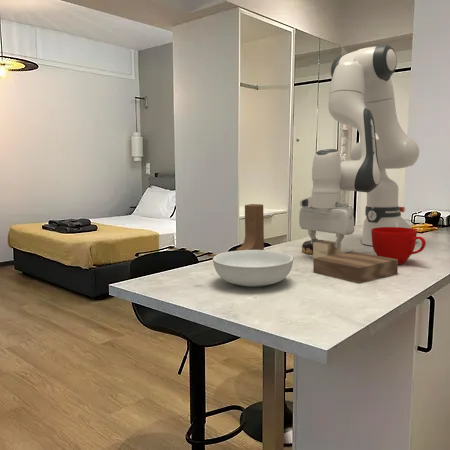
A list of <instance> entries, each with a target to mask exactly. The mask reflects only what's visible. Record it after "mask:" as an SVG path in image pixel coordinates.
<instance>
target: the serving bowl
mask: <svg viewBox="0 0 450 450" xmlns="http://www.w3.org/2000/svg"><path fill="white" fill-rule="evenodd" d="M212 262H213V267H214V269H215V273H217V275H218V276H219V277H220V278H221V279H223V280H224V281H225V282H227V283H230V284H233V285H237V286H241V287H246V288H247V287H248V288H259V287H266V286H269V285H273V284H274V285H275V284H276V283H279V282H281V281H282V280H284V279H286V278H287V276H288V275H289V274H290V272H291V270H292V269H293V264H294V263H293V262H294V257H293V256H292V255H290V254H289V253H285V252H282V251H275V250H268V249H264V250H240V251H237V250H231V251H227V252H221V253H218V254H216V255H214V256H213V257H212Z"/></svg>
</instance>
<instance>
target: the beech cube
mask: <svg viewBox="0 0 450 450" xmlns="http://www.w3.org/2000/svg"><path fill="white" fill-rule="evenodd" d="M333 242H334V240H333V241H332V240H327V239H326V240H325V241H320V242H313V255H312V259H313V258H318V257H323V256H329V255H334V254H339V253H342V251H341V249H342V246H341V247H340V248H338V249H337V248H333Z"/></svg>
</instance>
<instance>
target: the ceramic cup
mask: <svg viewBox="0 0 450 450" xmlns="http://www.w3.org/2000/svg"><path fill="white" fill-rule="evenodd" d="M411 228H412V227H411ZM411 228H403V227H379V228H373V229H372V230H371V235H372V245H373V246H372V248H373V251H374V253H375V256H381V257H387V258H392V259H398V265H401V264H405V263H406V261H408V260H409V259H410V257H411V256H412V255H415V254H418V253H420V252H422V251H423V250H424V249H425V247H426V245H427V244H426V238H424V237H422V236H417V235H418V234H417V233H418V231H417V229H415V228H412V229H411ZM416 239H419V241H421V247H420V248H419V249H417V250H415V249H416V248H415V247H416V244H417V242H416Z"/></svg>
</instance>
